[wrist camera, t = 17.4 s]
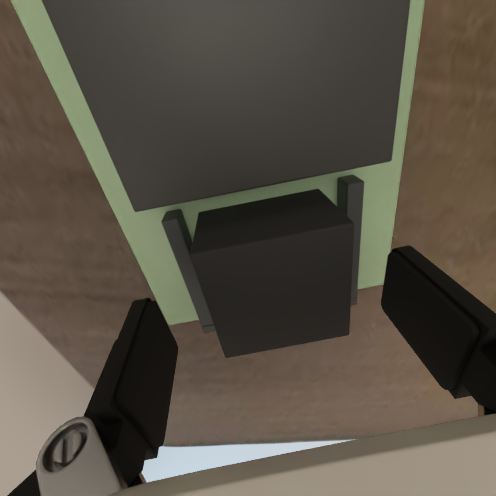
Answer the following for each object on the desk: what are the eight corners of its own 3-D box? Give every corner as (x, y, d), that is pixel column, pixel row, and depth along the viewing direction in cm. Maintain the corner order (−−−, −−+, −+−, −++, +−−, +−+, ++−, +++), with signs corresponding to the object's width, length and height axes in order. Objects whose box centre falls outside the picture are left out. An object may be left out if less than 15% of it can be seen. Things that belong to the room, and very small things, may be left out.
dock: (171, 312, 17) (160, 359, 14) (23, -9, 9) (-80, -64, 6) (376, 273, 17) (410, 312, 14) (417, -94, 9) (521, -196, 6)
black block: (224, 301, 16) (225, 359, 12) (198, 211, 13) (188, 255, 9) (321, 282, 16) (349, 335, 12) (318, 187, 12) (355, 222, 9)
